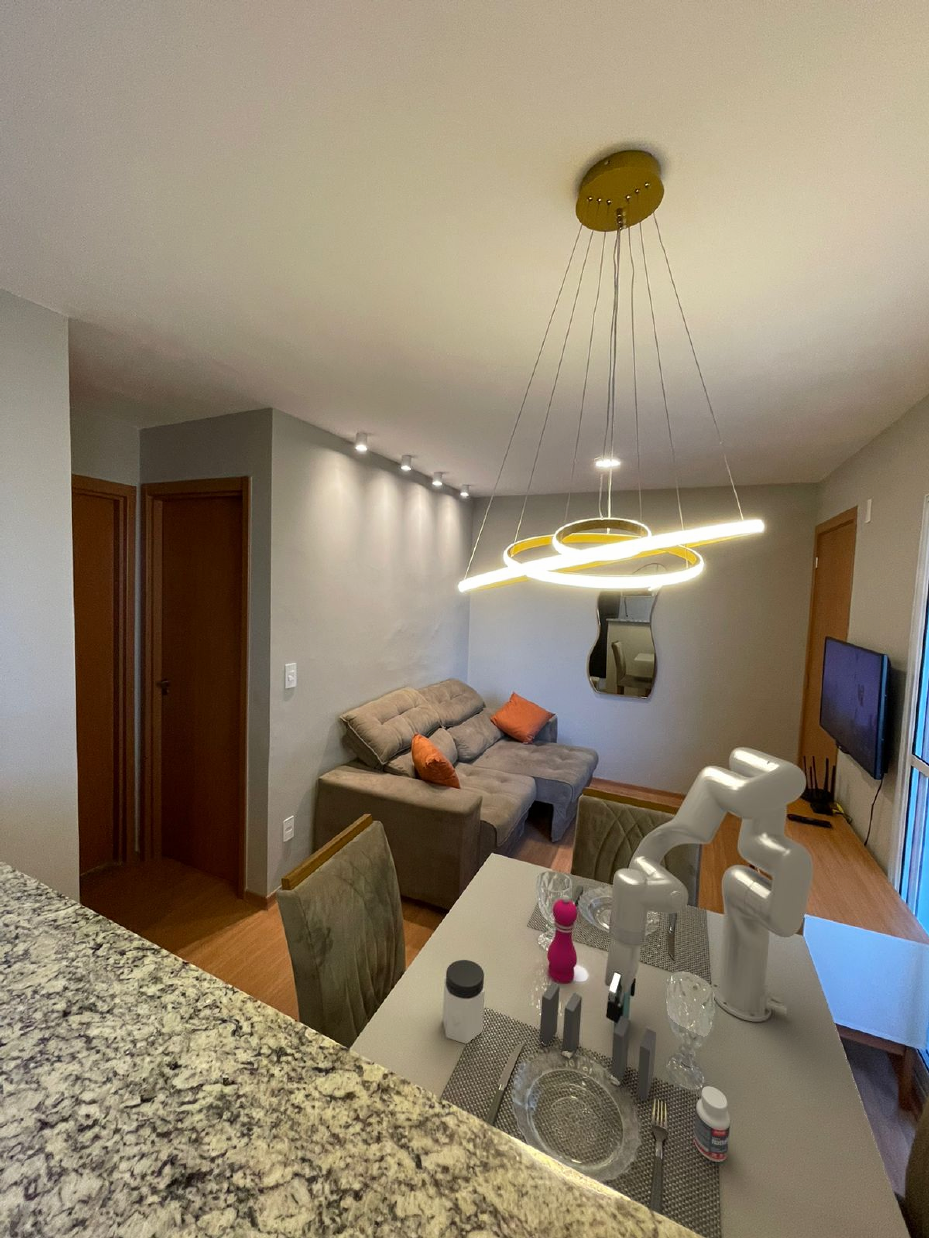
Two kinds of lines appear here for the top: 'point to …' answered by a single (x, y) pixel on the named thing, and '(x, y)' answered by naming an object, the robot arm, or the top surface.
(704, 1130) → the pill bottle
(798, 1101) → the top surface
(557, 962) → the pepper mill
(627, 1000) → the domino
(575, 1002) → the domino
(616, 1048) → the domino
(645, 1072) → the domino
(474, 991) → the jar
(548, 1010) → the domino
